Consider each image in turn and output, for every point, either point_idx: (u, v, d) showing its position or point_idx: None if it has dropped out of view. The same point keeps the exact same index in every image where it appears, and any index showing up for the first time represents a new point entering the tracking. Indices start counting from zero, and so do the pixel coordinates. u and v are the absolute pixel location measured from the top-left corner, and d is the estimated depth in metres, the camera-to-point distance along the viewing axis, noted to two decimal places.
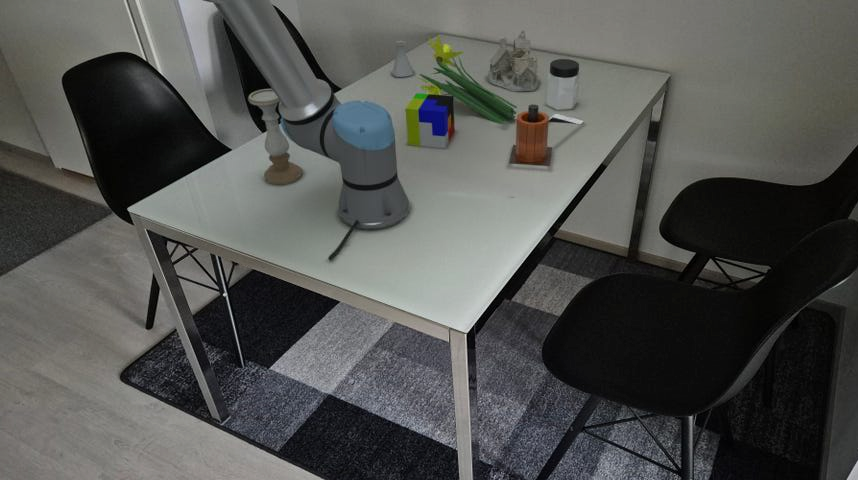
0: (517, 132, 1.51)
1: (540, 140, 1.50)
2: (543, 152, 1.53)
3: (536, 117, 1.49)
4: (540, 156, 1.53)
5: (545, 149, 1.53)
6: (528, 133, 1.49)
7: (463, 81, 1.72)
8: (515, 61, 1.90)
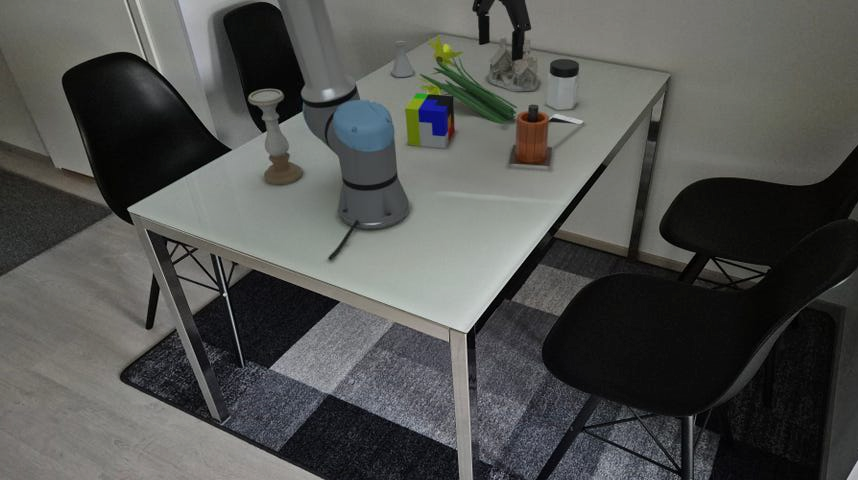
0: (517, 132, 1.51)
1: (540, 140, 1.50)
2: (543, 152, 1.53)
3: (536, 117, 1.49)
4: (540, 156, 1.53)
5: (545, 149, 1.53)
6: (528, 133, 1.49)
7: (463, 81, 1.72)
8: (515, 61, 1.90)
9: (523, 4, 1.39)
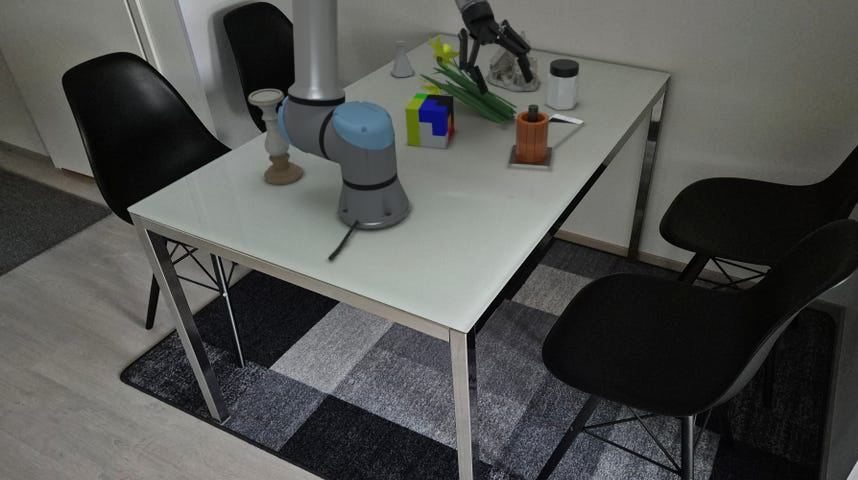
0: (517, 132, 1.51)
1: (540, 140, 1.50)
2: (543, 152, 1.53)
3: (536, 117, 1.49)
4: (540, 156, 1.53)
5: (545, 149, 1.53)
6: (528, 133, 1.49)
7: (463, 81, 1.72)
8: (515, 61, 1.90)
9: None
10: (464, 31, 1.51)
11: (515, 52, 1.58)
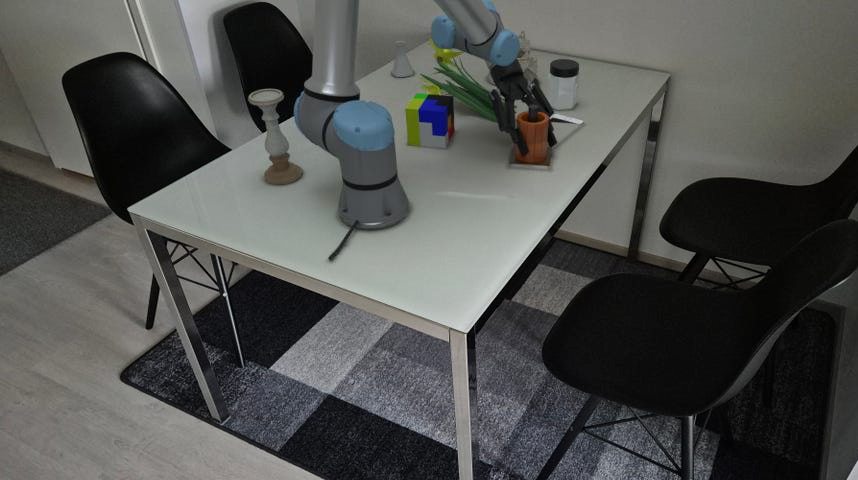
0: None
1: (540, 140, 1.50)
2: (543, 152, 1.53)
3: (536, 117, 1.49)
4: (540, 156, 1.53)
5: (545, 149, 1.53)
6: (528, 133, 1.49)
7: (463, 81, 1.72)
8: None
9: None
10: (495, 92, 1.49)
11: None
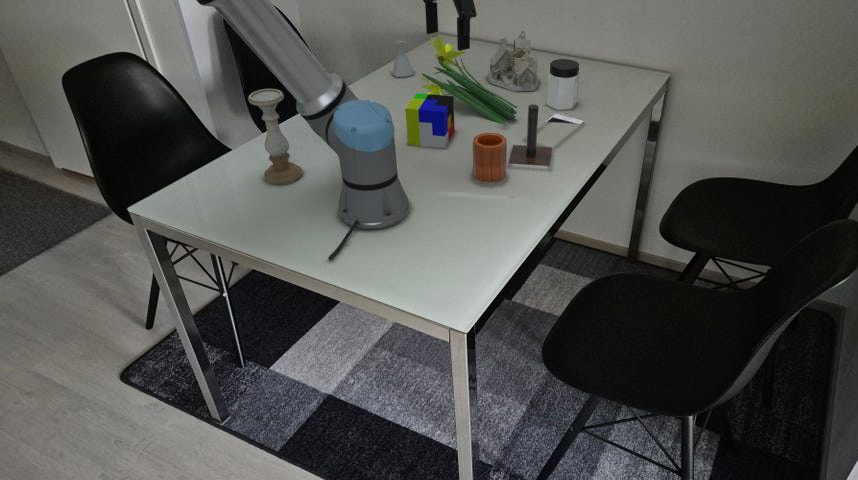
0: (474, 155, 1.45)
1: (497, 164, 1.44)
2: (501, 176, 1.46)
3: (536, 117, 1.49)
4: (498, 180, 1.46)
5: (503, 173, 1.47)
6: (484, 157, 1.42)
7: (464, 81, 1.72)
8: (515, 61, 1.90)
9: None
10: None
11: None
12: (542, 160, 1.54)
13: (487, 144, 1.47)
